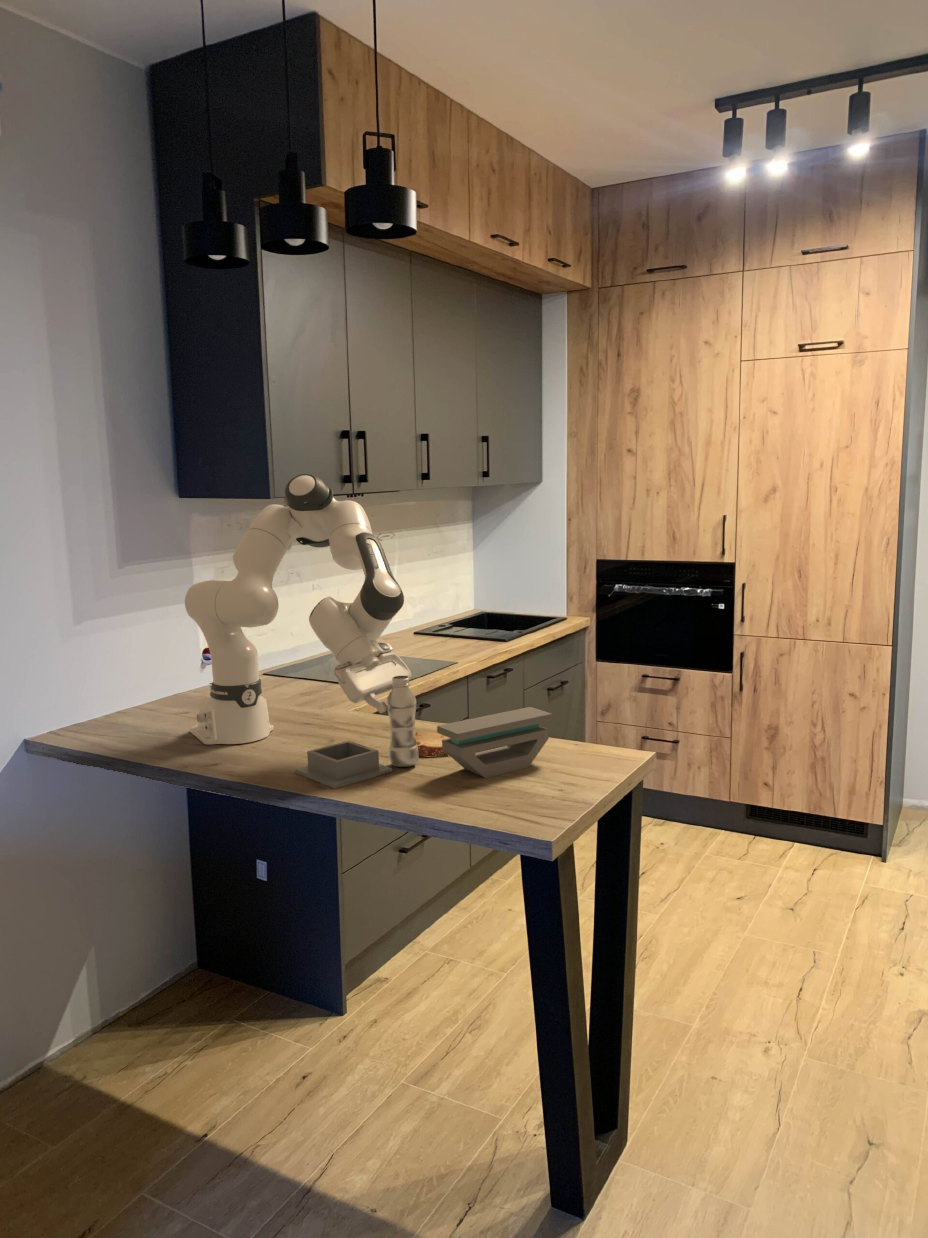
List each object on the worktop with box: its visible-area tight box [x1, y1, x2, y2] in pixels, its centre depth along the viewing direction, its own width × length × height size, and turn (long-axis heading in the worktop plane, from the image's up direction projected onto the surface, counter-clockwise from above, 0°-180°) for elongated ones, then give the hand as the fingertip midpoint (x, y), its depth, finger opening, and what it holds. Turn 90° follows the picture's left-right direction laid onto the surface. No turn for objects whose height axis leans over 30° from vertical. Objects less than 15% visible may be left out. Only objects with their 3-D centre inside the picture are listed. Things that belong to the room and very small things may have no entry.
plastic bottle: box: [385, 676, 419, 768], centre depth 204 cm, size 6×7×20 cm
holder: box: [295, 740, 393, 790], centre depth 202 cm, size 15×15×5 cm
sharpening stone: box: [436, 706, 553, 779], centre depth 202 cm, size 25×8×11 cm, turn 124°
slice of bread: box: [415, 731, 449, 757], centre depth 219 cm, size 18×18×4 cm
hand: (397, 705), depth 205 cm, fingers open, 8 cm apart
